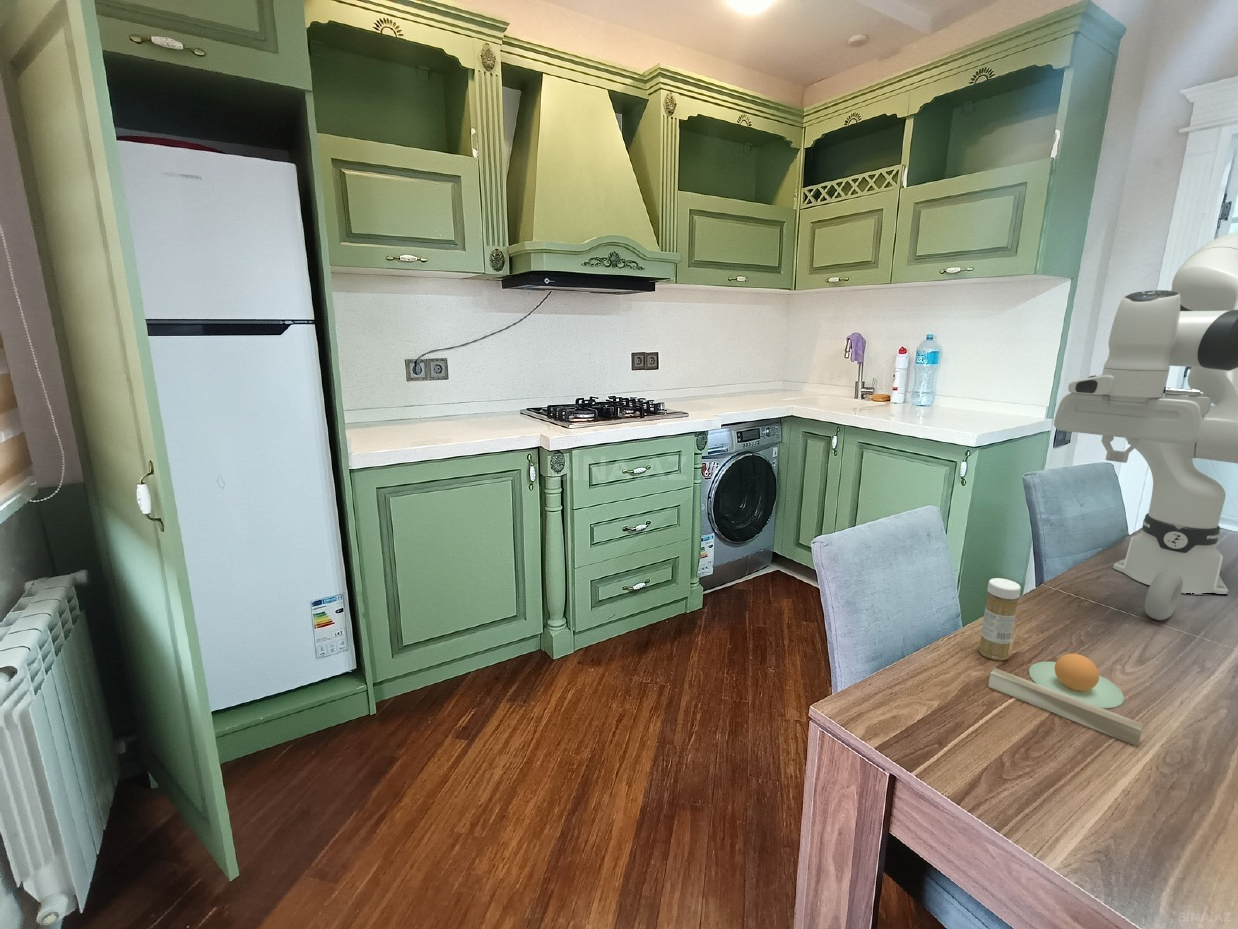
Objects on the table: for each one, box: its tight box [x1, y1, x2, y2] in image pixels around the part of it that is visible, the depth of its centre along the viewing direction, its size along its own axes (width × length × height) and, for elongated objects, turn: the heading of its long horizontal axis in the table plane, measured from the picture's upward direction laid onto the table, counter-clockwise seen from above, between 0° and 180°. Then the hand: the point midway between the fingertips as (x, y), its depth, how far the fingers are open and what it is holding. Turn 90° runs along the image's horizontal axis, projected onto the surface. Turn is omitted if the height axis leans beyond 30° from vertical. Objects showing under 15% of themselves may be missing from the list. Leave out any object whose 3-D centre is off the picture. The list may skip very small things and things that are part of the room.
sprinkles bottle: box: [977, 577, 1022, 662], centre depth 100 cm, size 5×5×14 cm
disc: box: [1028, 661, 1125, 709], centre depth 93 cm, size 12×12×1 cm
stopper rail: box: [987, 667, 1144, 747], centre depth 86 cm, size 2×18×2 cm, turn 42°
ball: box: [1055, 653, 1100, 691], centre depth 91 cm, size 6×6×6 cm
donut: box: [1144, 570, 1183, 621], centre depth 112 cm, size 10×4×10 cm, turn 124°
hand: (1116, 461), depth 107 cm, fingers closed
